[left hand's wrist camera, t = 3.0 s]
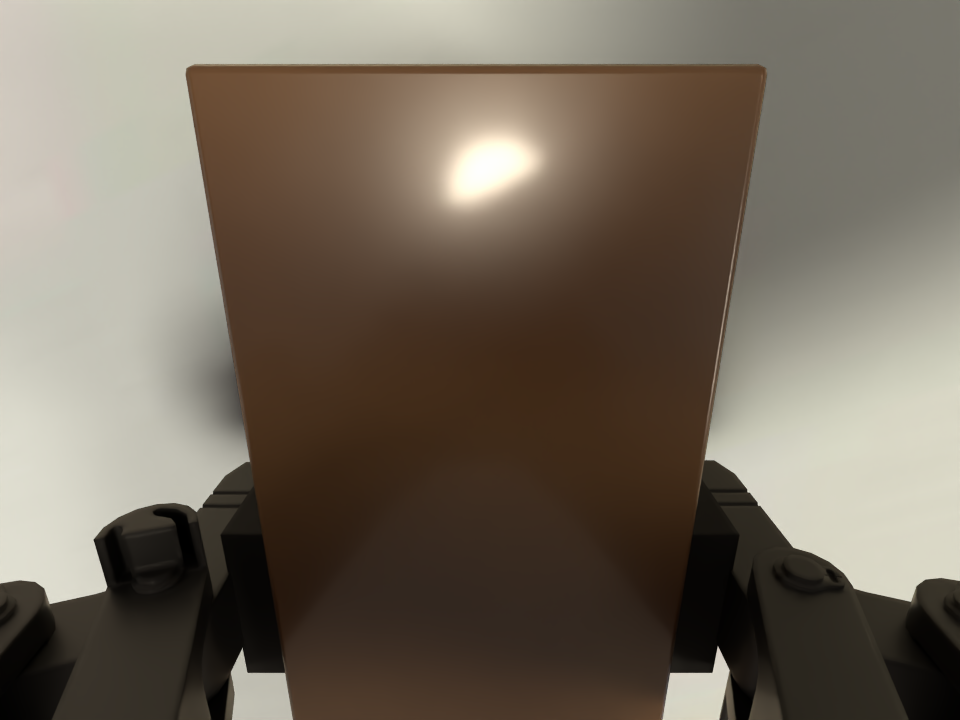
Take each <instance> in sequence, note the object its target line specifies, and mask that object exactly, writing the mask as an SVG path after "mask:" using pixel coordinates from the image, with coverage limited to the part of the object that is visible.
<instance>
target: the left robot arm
mask: <svg viewBox="0 0 960 720" xmlns="http://www.w3.org/2000/svg"><path fill="white" fill-rule="evenodd" d="M94 543H95V546H96V549H97V553H98V556H99V560H100V563H101V566H102V570H103V573H104V576H105V580H106V583H107V586H108V587H107V589H106V591H105V592H102V593H98V594H94V595H90V596H85V597H81V598H76V599H72V600H67V601H62V602H58V603H53V604H49V601H48V598H47V595H46V592H45V590H44V588H43V587H41V586H40V585H39V584H37V583H36V582H29V581H13V582H7V583H1V584H0V720H232V714H233V704H234V695H235V694H234V687H233V681H232V676H231V670H232V668H233V666H234V664H235V662H236V660H237V658H238V656H239V654H240V652H241V649H242V647H243V652H244V657H245V662H246V667H247V672H248V673H285V668H284V662H283V656H282V650H281V644H280V638H279V632H278V626H277V620H276V614H275V608H274V602H273V596H272V590H271V584H270V578H269V572H268V566H267V560H266V554H265V548H264V542H263V536H262V530H261V524H260V518H259V512H258V506H257V500H256V494H255V488H254V482H253V476H252V470H251V464H250V462H246V463H244V464H243V465H241V466H240V467H238V468H236V469H235V470H233V471H232V472H230V473H229V474H227V475H226V476H225V477H224V478H223V480H222V481H221V482H220V483H219V485H218V486H217V487H216V488H215V490H214V491H213V495H210V496H209V497H208V499H207V500H206V501H205V502H204V504H203V508H200V509H199V510H198V511H197V512H196V511H194V510H193V509H192V508H190V507H189V506H186V505H181V504H176V503H169V504H156V505H152V506H148V507H144V508H140V509H137V510H134V511H132V512H130V513H128V514H125V515H123V516H121V517H119V518H117V519H116V520H114V521H113V522H111V523H110V524H108V525H107V526H105V527H104V528H103V529H102V530H101V531H100V533H99V534H98V535H97V536H96V537H95V539H94ZM717 647H719V649H720V651H721V653H722V655H723V657H724V659H725V661H726V663H727V665H728V667H729V670H730V672H729V676H728V681H727V686H726V690H725V695H724V700H723V704H722V709H721V714H720V720H960V581H956V580H950V579H944V578H938V579H928V580H925V581H923V582H922V583H920V584H919V585H918V586H917V587H916V590H915V593H914V595H913V598H912V601H911V602H909V601H904V600H900V599H895V598H890V597H886V596H881V595H877V594H872V593H867V592H863V591H860V590H856V589H854V588H853V586H852V585H851V583H850V582H849V580H848V579H847V577H846V576H845V575H844V573H842V572H841V571H840V570H839V569H837V568H836V567H835V566H834V565H832V564H831V563H830V562H828V561H826V560H824V559H822V558H820V557H818V556H816V555H814V554H812V553H809V552H806V551H802V550H799V549H795V548H793V547H792V546H791V544H790V543H789V542H788V541H787V539H786V538H785V537H784V536H783V534H782V533H781V532H780V530H779V529H778V528H777V527H776V525H775V524H774V523H773V522H772V520H771V519H770V518H769V517H768V515H767V514H766V513H765V511H764V510H763V509H762V508H761V506H758V503H757V501H756V500H755V499H754V498H753V496H752V495H751V494H750V493H747V489H746V487H745V486H744V485H743V484H742V482H741V481H740V480H739V479H738V477H737V476H736V475H735V474H734V473H733V472H731V471H730V470H728V469H727V468H725V467H723V466H722V465H720V464H719V463H717V462H716V461H714V460H704V466H703V472H702V478H701V484H700V491H699V497H698V503H697V509H696V515H695V521H694V528H693V534H692V540H691V546H690V552H689V558H688V565H687V571H686V577H685V583H684V589H683V595H682V602H681V608H680V614H679V620H678V626H677V632H676V638H675V645H674V651H673V657H672V663H671V669H670V673H712V672H713V667H714V662H715V657H716V652H717Z"/></svg>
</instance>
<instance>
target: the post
mask: <svg viewBox="0 0 960 720" xmlns="http://www.w3.org/2000/svg"><path fill="white" fill-rule="evenodd" d="M766 78H767V71H766V68H765V67H763V66H761V65H759V64H194V65H192V66H190V67H188V68H187V69H186V80H187V86H188V92H189V98H190V104H191V110H192V116H193V122H194V128H195V134H196V140H197V146H198V152H199V158H200V164H201V170H202V176H203V182H204V188H205V194H206V200H207V206H208V212H209V218H210V224H211V230H212V236H213V242H214V248H215V254H216V260H217V266H218V272H219V278H220V284H221V290H222V296H223V302H224V308H225V314H226V320H227V326H228V332H229V338H230V344H231V350H232V356H233V362H234V368H235V374H236V380H237V386H238V392H239V398H240V404H241V410H242V416H243V422H244V428H245V434H246V440H247V446H248V452H249V458H250V464H251V470H252V476H253V482H254V488H255V494H256V500H257V506H258V512H259V518H260V524H261V530H262V536H263V542H264V548H265V554H266V560H267V566H268V572H269V578H270V584H271V590H272V596H273V602H274V608H275V614H276V620H277V626H278V632H279V638H280V644H281V650H282V656H283V662H284V668H285V674H286V680H287V686H288V692H289V698H290V704H291V710H292V716H293V720H662V719H663V712H664V706H665V700H666V694H667V688H668V682H669V675H670V669H671V663H672V657H673V651H674V645H675V638H676V632H677V626H678V620H679V614H680V608H681V602H682V595H683V589H684V583H685V577H686V571H687V565H688V558H689V552H690V546H691V540H692V534H693V528H694V521H695V515H696V509H697V503H698V497H699V491H700V484H701V478H702V472H703V466H704V460H705V454H706V448H707V441H708V435H709V429H710V423H711V417H712V411H713V404H714V398H715V392H716V386H717V380H718V374H719V367H720V361H721V355H722V349H723V343H724V337H725V330H726V324H727V318H728V312H729V306H730V300H731V294H732V287H733V281H734V275H735V269H736V263H737V257H738V250H739V244H740V238H741V232H742V226H743V220H744V213H745V207H746V201H747V195H748V189H749V183H750V176H751V170H752V164H753V158H754V152H755V146H756V140H757V133H758V127H759V121H760V115H761V109H762V103H763V96H764V90H765V84H766Z"/></svg>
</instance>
